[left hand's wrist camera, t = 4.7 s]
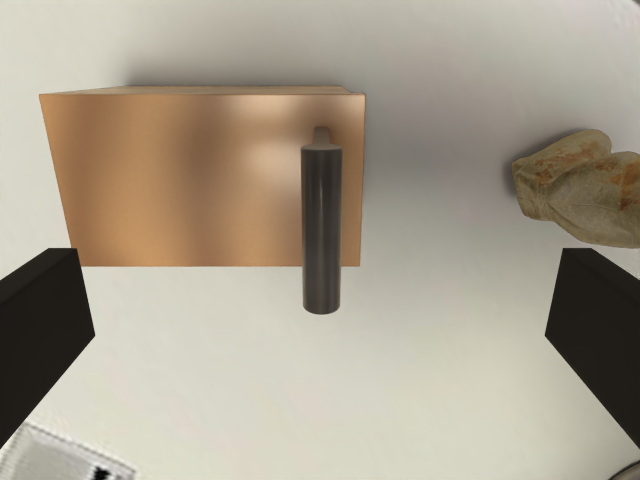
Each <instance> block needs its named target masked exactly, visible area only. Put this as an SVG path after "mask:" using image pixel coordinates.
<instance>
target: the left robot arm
mask: <svg viewBox="0 0 640 480" xmlns="http://www.w3.org/2000/svg"><path fill="white" fill-rule="evenodd" d="M94 337H95V331H94V327H93V322H92V317H91V312H90V308H89V303H88V298H87V293H86V289H85V284H84V279H83V274H82V270H81V265H80V260H79V255H78V251H77V248H48V249H47V250H45V251H44V252H42V253H41V254H39V255H38V256H36V257H35V258H33V259H32V260H30V261H29V262H27V263H26V264H24V265H23V266H21V267H20V268H18V269H17V270H15V271H14V272H12V273H11V274H9V275H8V276H6V277H5V278H3V279H2V280H0V449H1V448H2V446H3V445H4V444H5V443H6V442H7V441H8V439H9V438H10V437H11V436H12V435H13V433H14V432H15V431H16V430H17V429H18V427H19V426H20V425H21V424H22V423H23V421H24V420H25V419H26V418H27V417H28V415H29V414H30V413H31V412H32V411H33V409H34V408H35V407H36V406H37V405H38V403H39V402H40V401H41V400H42V399H43V398H44V396H45V395H46V394H47V393H48V392H49V390H50V389H51V388H52V387H53V386H54V384H55V383H56V382H57V381H58V380H59V378H60V377H61V376H62V375H63V374H64V372H65V371H66V370H67V369H68V368H69V366H70V365H71V364H72V363H73V362H74V361H75V359H76V358H77V357H78V356H79V355H80V353H81V352H82V351H83V350H84V349H85V347H86V346H87V345H88V344H89V343H90V341H91V340H92V339H93V338H94ZM545 337H546V338H547V339H548V340H549V341H550V343H551V344H552V345H553V346H554V347H555V349H556V350H557V351H558V352H559V353H560V355H561V356H562V357H563V358H564V359H565V361H566V362H567V363H568V364H569V365H570V366H571V368H572V369H573V370H574V371H575V372H576V374H577V375H578V376H579V377H580V378H581V380H582V381H583V382H584V383H585V384H586V386H587V387H588V388H589V389H590V390H591V392H592V393H593V394H594V395H595V396H596V398H597V399H598V400H599V401H600V402H601V404H602V405H603V406H604V407H605V408H606V409H607V411H608V412H609V413H610V414H611V415H612V417H613V418H614V419H615V420H616V421H617V423H618V424H619V425H620V426H621V427H622V429H623V430H624V431H625V432H626V433H627V435H628V436H629V437H630V438H631V439H632V441H633V442H634V443H635V444H636V445H637V446H638V448H639V449H640V280H638V279H637V278H635V277H634V276H632V275H631V274H629V273H628V272H626V271H625V270H623V269H622V268H620V267H619V266H617V265H616V264H614V263H613V262H611V261H610V260H608V259H607V258H605V257H604V256H602V255H601V254H599V253H598V252H596V251H595V250H593V249H592V248H563V251H562V255H561V260H560V265H559V270H558V274H557V279H556V284H555V289H554V293H553V298H552V303H551V308H550V312H549V317H548V322H547V327H546V331H545ZM613 480H640V463H638V464H636V465H634V466H632V467H630V468H628V469H627V470H625V471H623V472H622V473H620V474H619V475H618V476H616V477H615V478H614V479H613Z"/></svg>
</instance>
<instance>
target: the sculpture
mask: <svg viewBox="0 0 640 480" xmlns="http://www.w3.org/2000/svg"><path fill="white" fill-rule="evenodd" d="M511 169H512V176H513V179H514V183H515V188H516V193H517V198H518V202H519V205H520V207H521V210H522V212H523V214H524V215H525V216H527V217H530V218H532V219H536V220H542V221H553V222H556V223H557V224H558V225H559V226H560V227H562V228H563V229H564V230H566V231H567V232H568V233H570V234H571V235H572V236H574V237H575V238H577V239H578V240H580V241H582V242H586V243H590V244H597V245H604V246H611V247H621V248H640V155H639V154H637V153H634V152H618V153H613V154H611V141H610V139H609V137H608V136H607V135H606V134H604V133H603V132H601V131H599V130H584V131H580V132H576V133H574V134H571V135H569V136H567V137H564V138H562V139H560V140H559V141H557V142H555V143H553V144H551V145H549V146H547V147H546V148H544V149H543V150H541V151H539V152H537V153H535V154H533V155H530V156H528V157H525V158H524V157H522V158H519V159H517V160H515V161H514V162H513V163H512V165H511Z"/></svg>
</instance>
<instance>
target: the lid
mask: <svg viewBox="0 0 640 480" xmlns="http://www.w3.org/2000/svg"><path fill="white" fill-rule="evenodd" d="M39 99H40V103H41V108H42V113H43V117H44V122H45V127H46V131H47V136H48V141H49V145H50V150H51V155H52V159H53V164H54V168H55V173H56V178H57V182H58V187H59V192H60V196H61V201H62V206H63V210H64V215H65V220H66V224H67V229H68V234H69V238H70V243H71V248H77V251H78V255H79V260H80V265H81V266H302V274H303V306H304V308H305V310H307V311H308V312H310V313H313V314H321V315H323V314H330V313H333V312H335V311H337V310H338V308H339V307H340V282H341V266H360V247H361V219H362V190H363V162H364V133H365V105H366V95H365V94H364V93H47V94H39Z"/></svg>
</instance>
